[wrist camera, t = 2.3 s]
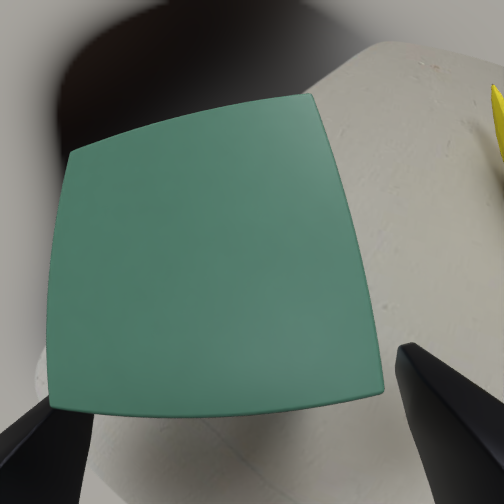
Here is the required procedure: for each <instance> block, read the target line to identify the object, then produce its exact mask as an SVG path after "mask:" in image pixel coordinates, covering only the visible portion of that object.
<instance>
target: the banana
mask: <svg viewBox="0 0 504 504" xmlns="http://www.w3.org/2000/svg"><path fill="white" fill-rule="evenodd" d="M491 90H492V93H491V101H492V109H493V117H494V123H495V130H496V136H497V140H498V144H499V148H500V152H501V156H502V159H503V162H504V98H503V96H502V95H501V93H500V92H499V91H498V90H497V88H496V86H495V85H494V84H492V86H491Z"/></svg>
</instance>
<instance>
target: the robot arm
mask: <svg viewBox="0 0 504 504" xmlns="http://www.w3.org/2000/svg"><path fill="white" fill-rule="evenodd" d="M395 374H396V378H397V382H398V386H399V389H400V393H401V397H402V401H403V405H404V409H405V413H406V417H407V421H408V424H409V427H410V430H411V433H412V435H413V438H414V441H415V444H416V447H417V449H418V452H419V455H420V458H421V461H422V464H423V467H424V470H425V473H426V476H427V479H428V482H429V485H430V488H431V491H432V495H433V498H434V501H435V504H504V403H502V402H501V401H499V400H498V399H497V398H495V397H494V396H492V395H491V394H489V393H488V392H486V391H485V390H483V389H482V388H481V387H479V386H478V385H476V384H475V383H473V382H472V381H470V380H469V379H467V378H466V377H464V376H463V375H462V374H460V373H459V372H457V371H456V370H454V369H453V368H451V367H450V366H448V365H447V364H445V363H444V362H442V361H441V360H439V359H438V358H436V357H435V356H433V355H432V354H430V353H429V352H428V351H426V350H425V349H423V348H422V347H420V346H419V345H417V344H416V343H413V342H411V343H407V344H403V345H400V346H399V347H398V350H397V357H396V364H395ZM93 419H94V414H91V413H82V412H75V411H67V410H61V409H54V408H52V407H51V406H50V402H49V395H48V396H47V397H46V398H44V399H43V400H42V401H41V402H39V403H38V404H37V405H36V406H34V407H33V408H32V409H31V410H29V411H28V412H27V413H26V414H25V415H23V416H22V417H21V418H19V419H18V420H17V421H16V422H14V423H13V424H12V425H11V426H9V427H8V428H7V429H6V430H4V431H3V432H2V433H1V434H0V504H79V498H80V493H81V487H82V481H83V476H84V471H85V466H86V461H87V457H88V452H89V447H90V442H91V435H92V427H93Z"/></svg>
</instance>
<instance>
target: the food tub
mask: <svg viewBox="0 0 504 504" xmlns="http://www.w3.org/2000/svg"><path fill="white" fill-rule="evenodd" d="M46 352H47V376H48V391H49V402H50V406H51V407H52V408H54V409H61V410H67V411H75V412H82V413H91V414H100V415H111V416H125V417H143V418H217V417H235V416H249V415H260V414H270V413H279V412H287V411H295V410H302V409H309V408H315V407H322V406H327V405H333V404H338V403H344V402H349V401H354V400H358V399H363V398H368V397H372V396H376V395H380V394H382V393H383V392H384V389H385V388H384V380H383V372H382V365H381V358H380V351H379V345H378V339H377V333H376V327H375V321H374V316H373V310H372V305H371V300H370V295H369V290H368V285H367V280H366V276H365V271H364V267H363V262H362V258H361V254H360V249H359V245H358V241H357V237H356V233H355V229H354V225H353V221H352V218H351V214H350V210H349V206H348V203H347V199H346V196H345V192H344V189H343V185H342V182H341V179H340V175H339V172H338V169H337V165H336V162H335V159H334V156H333V153H332V150H331V147H330V144H329V141H328V138H327V135H326V132H325V129H324V126H323V123H322V120H321V117H320V114H319V112H318V109H317V106H316V103H315V101H314V98H313V96H312V94H310V93H307V94H299V95H291V96H284V97H276V98H270V99H263V100H257V101H251V102H246V103H240V104H235V105H230V106H225V107H220V108H216V109H210V110H206V111H201V112H197V113H193V114H189V115H185V116H181V117H177V118H173V119H169V120H166V121H162V122H158V123H154V124H151V125H148V126H144V127H141V128H137V129H134V130H131V131H128V132H125V133H122V134H119V135H116V136H113V137H110V138H107V139H104V140H101V141H98V142H96V143H93V144H90V145H87V146H85V147H82V148H79V149H77V150H74V151H72V152H71V153H70V156H69V160H68V164H67V168H66V172H65V177H64V181H63V185H62V191H61V195H60V200H59V205H58V211H57V217H56V223H55V229H54V236H53V243H52V251H51V260H50V271H49V281H48V296H47V322H46Z"/></svg>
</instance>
